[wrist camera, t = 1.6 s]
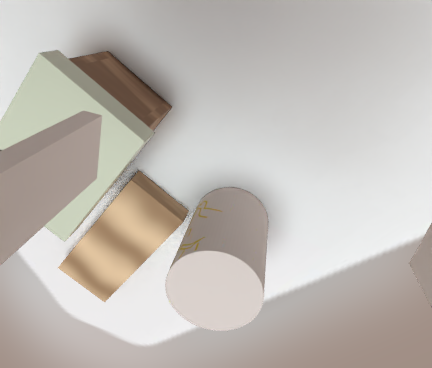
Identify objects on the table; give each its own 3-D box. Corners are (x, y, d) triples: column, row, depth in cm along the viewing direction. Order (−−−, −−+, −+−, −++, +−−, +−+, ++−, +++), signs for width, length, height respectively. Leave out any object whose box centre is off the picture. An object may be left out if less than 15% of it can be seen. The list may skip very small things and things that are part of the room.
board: (112, 288, 48) (104, 302, 46) (68, 255, 47) (57, 267, 45) (188, 211, 42) (183, 222, 39) (139, 170, 41) (130, 179, 38)
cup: (209, 175, 40) (182, 235, 29) (280, 204, 40) (280, 275, 29) (185, 235, 43) (153, 308, 32) (250, 261, 43) (240, 343, 32)
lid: (82, 223, 36) (64, 241, 33) (-2, 158, 34) (-28, 172, 31) (158, 129, 31) (144, 141, 28) (63, 49, 29) (39, 53, 26)
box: (108, 185, 42) (73, 220, 35) (50, 139, 41) (0, 165, 34) (172, 106, 37) (146, 128, 30) (107, 51, 36) (64, 59, 29)
